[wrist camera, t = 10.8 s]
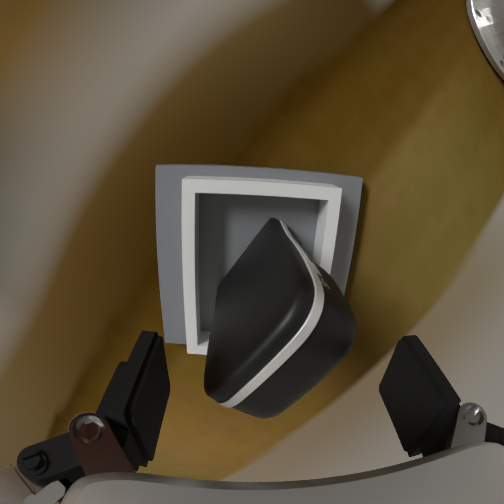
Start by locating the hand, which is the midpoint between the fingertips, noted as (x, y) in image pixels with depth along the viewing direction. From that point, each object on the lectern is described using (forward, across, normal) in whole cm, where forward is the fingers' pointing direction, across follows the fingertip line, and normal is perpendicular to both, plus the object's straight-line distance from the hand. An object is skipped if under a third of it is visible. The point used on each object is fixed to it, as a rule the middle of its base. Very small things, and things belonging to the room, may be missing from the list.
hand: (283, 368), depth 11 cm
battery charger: (+11, 0, +1) cm, 11 cm away
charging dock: (+12, +1, +1) cm, 12 cm away
